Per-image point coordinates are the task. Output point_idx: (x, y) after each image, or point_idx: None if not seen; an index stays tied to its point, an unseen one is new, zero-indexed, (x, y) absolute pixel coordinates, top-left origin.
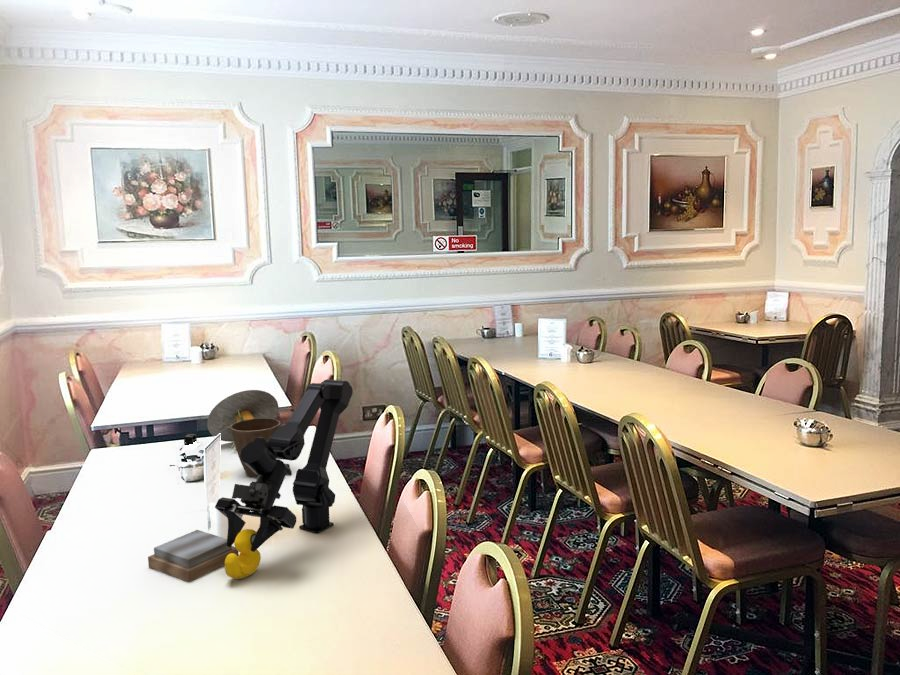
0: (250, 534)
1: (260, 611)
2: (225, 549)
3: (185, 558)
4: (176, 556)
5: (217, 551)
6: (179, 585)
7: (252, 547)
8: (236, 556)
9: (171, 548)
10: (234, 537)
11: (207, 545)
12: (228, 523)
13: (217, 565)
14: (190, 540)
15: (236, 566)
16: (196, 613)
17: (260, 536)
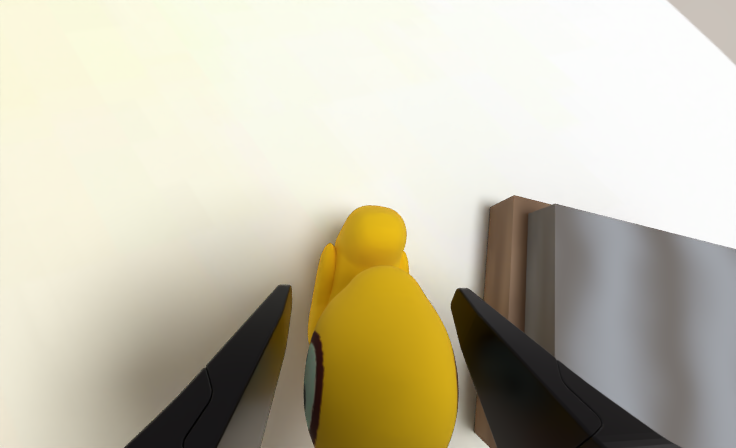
0: (330, 371)
1: (160, 115)
2: None
3: (571, 208)
4: (615, 220)
5: None
6: (497, 183)
7: (276, 290)
8: (354, 235)
9: (688, 268)
10: (479, 365)
11: (600, 353)
12: (622, 410)
13: None
14: (700, 368)
15: (342, 228)
16: (342, 71)
17: (208, 368)
